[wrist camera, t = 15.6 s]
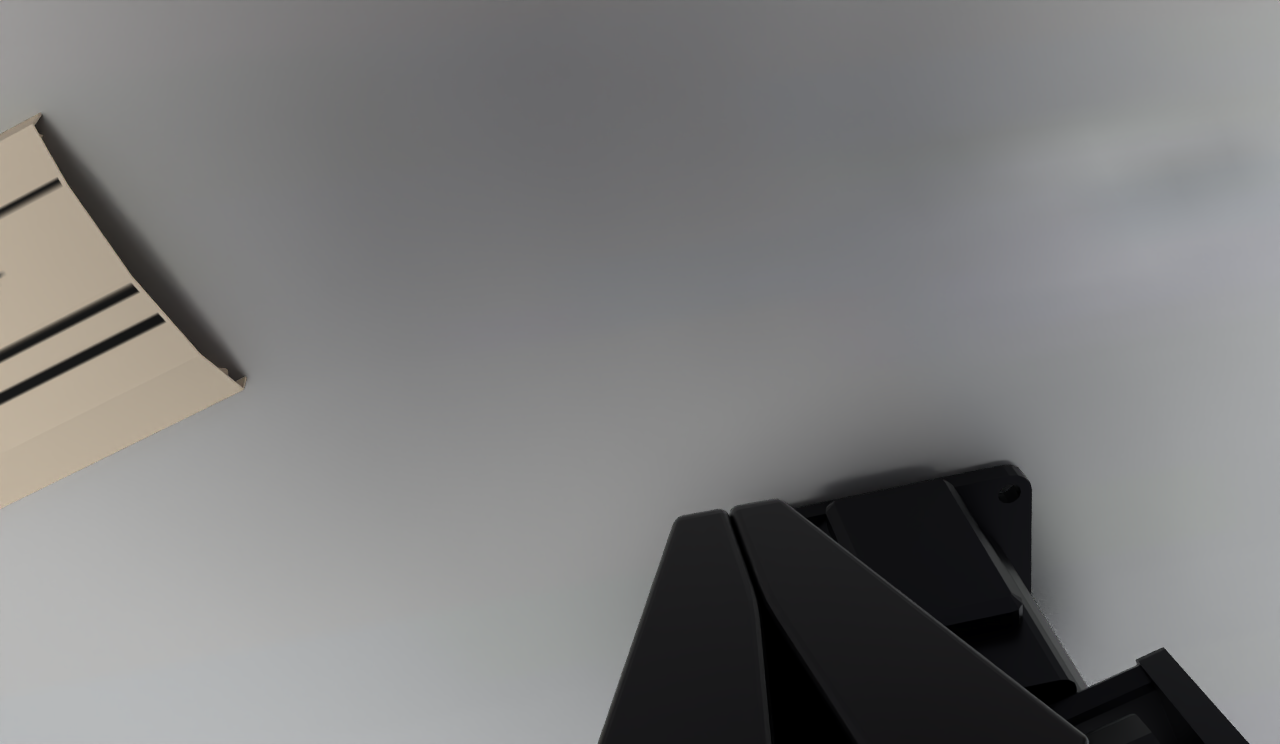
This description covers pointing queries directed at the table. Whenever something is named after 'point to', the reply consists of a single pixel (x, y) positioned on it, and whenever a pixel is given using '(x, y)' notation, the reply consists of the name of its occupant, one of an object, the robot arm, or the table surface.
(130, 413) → the newspaper
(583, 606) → the table surface
